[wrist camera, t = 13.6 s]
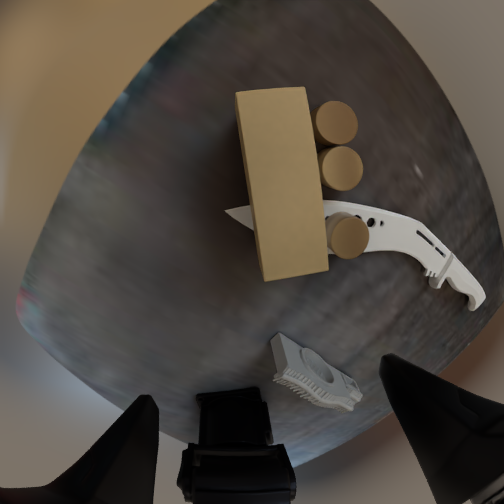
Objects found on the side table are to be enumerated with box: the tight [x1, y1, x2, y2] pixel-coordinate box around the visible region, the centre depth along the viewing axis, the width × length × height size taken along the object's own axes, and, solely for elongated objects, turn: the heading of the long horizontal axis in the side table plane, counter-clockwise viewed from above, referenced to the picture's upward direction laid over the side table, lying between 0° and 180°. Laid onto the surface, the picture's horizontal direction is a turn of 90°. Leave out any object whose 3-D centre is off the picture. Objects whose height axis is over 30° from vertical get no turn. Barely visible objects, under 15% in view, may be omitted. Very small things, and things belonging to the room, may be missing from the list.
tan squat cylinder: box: [325, 212, 369, 259], centre depth 18 cm, size 3×3×2 cm
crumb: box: [310, 101, 358, 146], centre depth 16 cm, size 3×3×2 cm
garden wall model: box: [270, 332, 363, 413], centre depth 21 cm, size 12×2×6 cm, turn 48°
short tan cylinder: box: [317, 146, 363, 191], centre depth 17 cm, size 3×3×2 cm
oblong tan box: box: [235, 87, 329, 282], centre depth 15 cm, size 4×10×5 cm, turn 8°
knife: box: [225, 200, 486, 311], centre depth 21 cm, size 30×2×8 cm
